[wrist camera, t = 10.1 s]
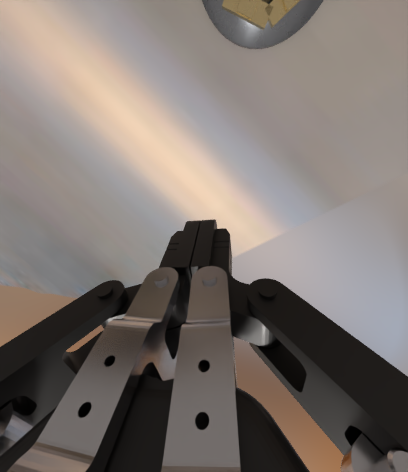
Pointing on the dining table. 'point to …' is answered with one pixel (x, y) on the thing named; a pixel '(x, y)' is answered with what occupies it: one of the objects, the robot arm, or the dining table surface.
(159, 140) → the dining table surface
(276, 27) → the steel flange
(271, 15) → the golden ring with handle
